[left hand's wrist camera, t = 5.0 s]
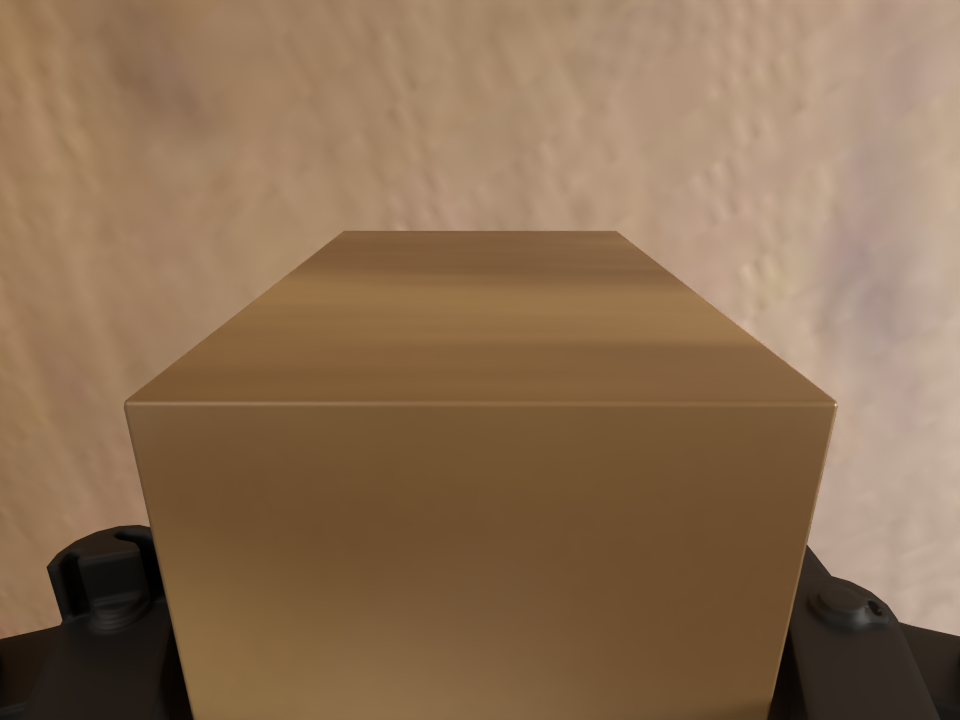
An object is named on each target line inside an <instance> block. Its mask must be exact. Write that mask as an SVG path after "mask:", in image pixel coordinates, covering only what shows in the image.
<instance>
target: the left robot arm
mask: <svg viewBox="0 0 960 720" xmlns="http://www.w3.org/2000/svg"><path fill="white" fill-rule="evenodd" d="M47 570H48V573H49V577H50V580H51V583H52V587H53V590H54V593H55V597H56V600H57V603H58V607H59V610H60V613H61V617H62V623H61V625H59V626H55V627H52V628H48V629H44V630H39V631H35V632H30V633H26V634H22V635H17V636H13V637H8V638H4V639H0V720H193V716H192V711H191V707H190V702H189V698H188V693H187V689H186V684H185V680H184V675H183V671H182V666H181V662H180V657H179V653H178V648H177V644H176V639H175V635H174V630H173V626H172V621H171V617H170V612H169V608H168V603H167V599H166V594H165V590H164V585H163V581H162V576H161V572H160V567H159V563H158V558H157V554H156V549H155V545H154V540H153V536H152V531H151V527H146V526H141V525H131V526H118V527H114V528H110V529H106V530H102V531H98V532H95V533H93V534H91V535H88V536H86V537H84V538H82V539H79V540H77V541H75V542H74V543H72V544H71V545H69V546H68V547H66V548H65V549H63V550H62V551H61V552H59V553H58V554H57V555H56V556H55V557H54V559H53V560H52V561H51V562H50V563H49V565H48V566H47ZM768 720H960V636H955V635H951V634H946V633H942V632H937V631H933V630H928V629H924V628H919V627H915V626H911V625H907V624H904V623H901V622H898V619H897V618H896V617H895V615H894V614H893V612H892V611H891V609H890V608H889V607H888V605H887V604H885V603H884V602H883V601H882V600H880V599H879V598H878V597H877V596H875V595H874V594H873V593H872V592H870V591H868V590H866V589H864V588H862V587H860V586H858V585H856V584H854V583H852V582H850V581H847V580H843V579H840V578H836V577H833V576H831V575H830V574H829V572H828V571H827V570H826V568H825V567H824V566H823V565H822V563H821V562H820V561H819V559H818V558H817V557H816V556H815V554H814V553H813V552H812V550H811V549H810V548H809V547H808V545H807V546H806V550H805V555H804V559H803V564H802V568H801V572H800V577H799V581H798V586H797V590H796V595H795V599H794V604H793V608H792V613H791V617H790V622H789V626H788V631H787V635H786V640H785V644H784V648H783V653H782V657H781V662H780V666H779V671H778V675H777V680H776V684H775V689H774V693H773V698H772V702H771V707H770V711H769V716H768Z"/></svg>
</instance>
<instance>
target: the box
mask: <svg viewBox="0 0 960 720" xmlns="http://www.w3.org/2000/svg"><path fill="white" fill-rule="evenodd" d="M124 410H125V415H126V419H127V424H128V428H129V433H130V437H131V442H132V446H133V451H134V455H135V460H136V464H137V468H138V473H139V477H140V482H141V486H142V491H143V495H144V500H145V504H146V509H147V513H148V518H149V522H150V527H151V531H152V536H153V540H154V545H155V549H156V554H157V558H158V563H159V567H160V572H161V576H162V581H163V585H164V590H165V594H166V599H167V603H168V608H169V612H170V617H171V621H172V626H173V630H174V635H175V639H176V644H177V648H178V653H179V657H180V662H181V666H182V671H183V675H184V680H185V684H186V689H187V693H188V698H189V702H190V707H191V711H192V716H193V720H768V716H769V711H770V707H771V702H772V698H773V693H774V689H775V684H776V680H777V675H778V671H779V666H780V662H781V657H782V653H783V648H784V644H785V640H786V635H787V631H788V626H789V622H790V617H791V613H792V608H793V604H794V599H795V595H796V590H797V586H798V581H799V577H800V572H801V568H802V564H803V559H804V555H805V550H806V546H807V541H808V537H809V532H810V528H811V523H812V519H813V514H814V510H815V505H816V501H817V496H818V492H819V487H820V483H821V479H822V474H823V470H824V465H825V461H826V456H827V452H828V447H829V443H830V438H831V434H832V429H833V425H834V420H835V416H836V411H837V402H836V401H835V400H834V399H833V398H832V397H830V396H829V395H828V394H826V393H825V392H824V391H822V390H821V389H820V388H819V387H817V386H816V385H815V384H813V383H812V382H811V381H810V380H808V379H807V378H806V377H804V376H803V375H802V374H800V373H799V372H798V371H797V370H795V369H794V368H793V367H791V366H790V365H789V364H788V363H786V362H785V361H784V360H782V359H781V358H780V357H779V356H777V355H776V354H775V353H773V352H772V351H771V350H769V349H768V348H767V347H766V346H764V345H763V344H762V343H760V342H759V341H758V340H757V339H755V338H754V337H753V336H751V335H750V334H749V333H747V332H746V331H745V330H744V329H742V328H741V327H740V326H738V325H737V324H736V323H735V322H733V321H732V320H731V319H729V318H728V317H727V316H726V315H724V314H723V313H722V312H720V311H719V310H718V309H716V308H715V307H714V306H713V305H711V304H710V303H709V302H707V301H706V300H705V299H704V298H702V297H701V296H700V295H698V294H697V293H696V292H694V291H693V290H692V289H691V288H689V287H688V286H687V285H685V284H684V283H683V282H682V281H680V280H679V279H678V278H676V277H675V276H674V275H673V274H671V273H670V272H669V271H667V270H666V269H665V268H663V267H662V266H661V265H660V264H658V263H657V262H656V261H654V260H653V259H652V258H651V257H649V256H648V255H647V254H645V253H644V252H643V251H641V250H640V249H639V248H638V247H636V246H635V245H634V244H632V243H631V242H630V241H629V240H627V239H626V238H625V237H623V236H622V235H621V234H620V233H618V232H617V231H344V232H342V233H341V234H340V235H338V236H337V237H336V238H334V239H333V240H332V241H331V242H329V243H328V244H327V245H325V246H324V247H323V248H322V249H320V250H319V251H318V252H316V253H315V254H314V255H313V256H311V257H310V258H309V259H307V260H306V261H305V262H304V263H302V264H301V265H300V266H298V267H297V268H296V269H295V270H293V271H292V272H291V273H289V274H288V275H287V276H285V277H284V278H283V279H282V280H280V281H279V282H278V283H276V284H275V285H274V286H273V287H271V288H270V289H269V290H267V291H266V292H265V293H264V294H262V295H261V296H260V297H258V298H257V299H256V300H255V301H253V302H252V303H251V304H249V305H248V306H247V307H246V308H244V309H243V310H242V311H240V312H239V313H238V314H237V315H235V316H234V317H233V318H231V319H230V320H229V321H228V322H226V323H225V324H224V325H222V326H221V327H220V328H219V329H217V330H216V331H215V332H213V333H212V334H211V335H210V336H208V337H207V338H206V339H204V340H203V341H202V342H201V343H199V344H198V345H197V346H195V347H194V348H193V349H192V350H190V351H189V352H188V353H186V354H185V355H184V356H182V357H181V358H180V359H179V360H177V361H176V362H175V363H173V364H172V365H171V366H170V367H168V368H167V369H166V370H164V371H163V372H162V373H161V374H159V375H158V376H157V377H155V378H154V379H153V380H152V381H150V382H149V383H148V384H146V385H145V386H144V387H143V388H141V389H140V390H139V391H137V392H136V393H135V394H134V395H132V396H131V397H130V398H128V399H127V400H126V401H125V403H124Z"/></svg>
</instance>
